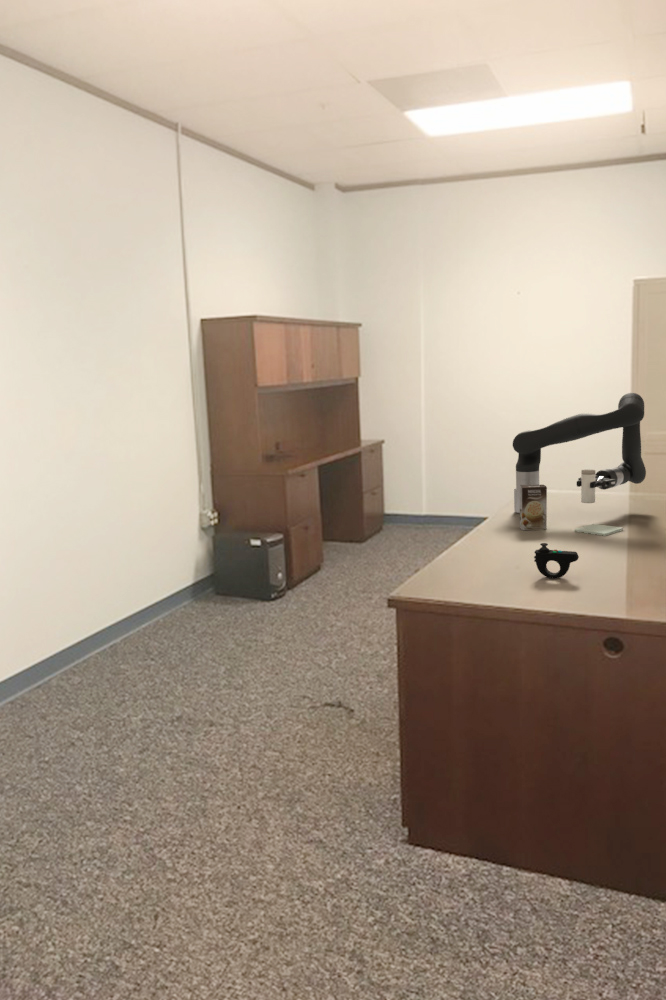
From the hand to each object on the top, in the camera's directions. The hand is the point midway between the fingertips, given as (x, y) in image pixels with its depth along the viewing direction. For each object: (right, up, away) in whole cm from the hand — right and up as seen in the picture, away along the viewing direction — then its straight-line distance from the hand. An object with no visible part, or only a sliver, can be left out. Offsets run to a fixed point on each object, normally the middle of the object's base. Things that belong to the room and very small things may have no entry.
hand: (584, 484), depth 296 cm
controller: (-29, -28, -67) cm, 78 cm away
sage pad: (+2, -17, -10) cm, 20 cm away
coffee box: (-19, -16, -1) cm, 25 cm away
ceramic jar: (+2, -6, +3) cm, 7 cm away
